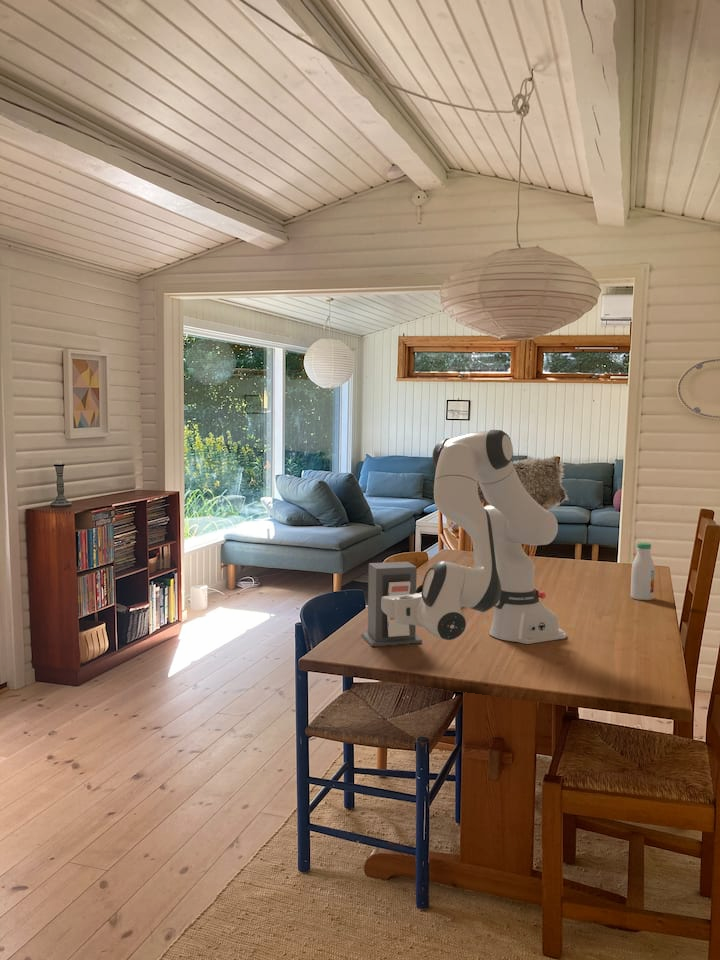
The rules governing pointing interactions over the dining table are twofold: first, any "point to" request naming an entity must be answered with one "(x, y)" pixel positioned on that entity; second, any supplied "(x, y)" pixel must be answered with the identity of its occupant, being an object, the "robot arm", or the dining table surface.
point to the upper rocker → (398, 588)
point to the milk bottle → (642, 574)
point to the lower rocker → (397, 628)
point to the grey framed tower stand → (379, 587)
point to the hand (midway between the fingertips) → (411, 596)
